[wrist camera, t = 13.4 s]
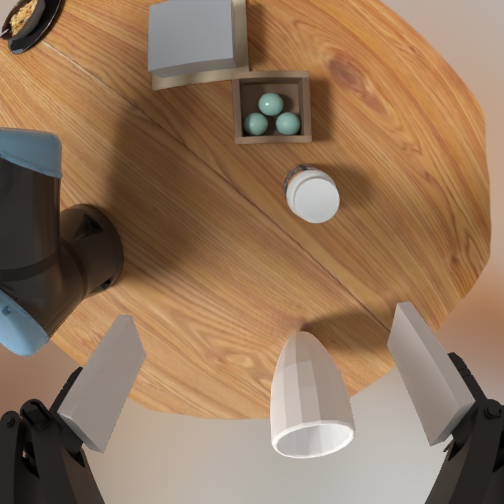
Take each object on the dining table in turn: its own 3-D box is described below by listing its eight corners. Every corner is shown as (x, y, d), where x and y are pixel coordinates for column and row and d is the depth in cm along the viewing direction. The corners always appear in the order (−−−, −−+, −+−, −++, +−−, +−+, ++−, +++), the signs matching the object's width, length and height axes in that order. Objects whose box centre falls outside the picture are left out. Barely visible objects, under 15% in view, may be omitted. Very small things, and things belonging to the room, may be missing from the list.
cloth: (153, 90, 31) (152, 90, 31) (154, 14, 26) (153, 13, 26) (249, 78, 31) (249, 78, 30) (245, 0, 26) (245, -2, 25)
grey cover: (162, 78, 30) (147, 71, 26) (162, 18, 26) (149, 5, 22) (236, 68, 30) (232, 58, 25) (234, 7, 26) (230, -9, 21)
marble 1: (245, 136, 33) (241, 137, 31) (243, 113, 32) (240, 112, 29) (268, 135, 33) (267, 136, 30) (267, 112, 32) (266, 111, 29)
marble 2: (258, 103, 32) (259, 121, 31) (257, 87, 29) (258, 105, 28) (282, 103, 32) (284, 120, 31) (282, 87, 29) (285, 105, 28)
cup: (268, 305, 44) (269, 423, 24) (333, 304, 43) (369, 414, 23) (267, 353, 48) (267, 461, 28) (325, 351, 47) (347, 455, 27)
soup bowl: (57, 37, 26) (30, 29, 19) (5, 67, 27) (-20, 65, 20) (71, -23, 20) (49, -35, 14) (16, 10, 21) (-5, 5, 14)
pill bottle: (286, 159, 35) (295, 166, 26) (328, 168, 35) (350, 179, 26) (278, 200, 37) (283, 222, 28) (319, 208, 37) (337, 232, 28)
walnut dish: (238, 143, 34) (234, 144, 30) (235, 81, 31) (231, 72, 26) (305, 142, 34) (311, 142, 29) (302, 79, 30) (308, 71, 26)
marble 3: (275, 135, 33) (277, 136, 30) (274, 112, 32) (277, 111, 29) (298, 135, 33) (303, 136, 30) (298, 112, 32) (302, 111, 29)
